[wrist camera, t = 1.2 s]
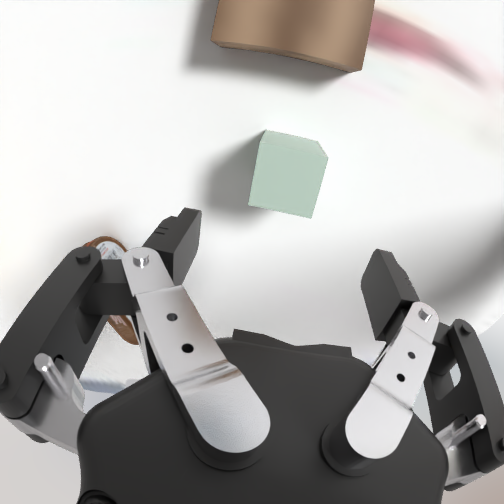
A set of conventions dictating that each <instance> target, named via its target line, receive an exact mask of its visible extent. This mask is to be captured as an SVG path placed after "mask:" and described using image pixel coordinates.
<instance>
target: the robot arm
mask: <svg viewBox="0 0 504 504" xmlns="http://www.w3.org/2000/svg"><path fill="white" fill-rule="evenodd" d="M201 215H202V213H201V210H196V209H190V208H184V209H183V210H182V211H181V213H180V214H179V215H178V217H174V216H170V217H168V218H166V219H164V220H163V221H162V222H161V223H160V224H159V226H158V228H156V229H155V231H154V233H152V234H151V236H150V237H149V238H148V239H147V241H146V242H145V243H144V245H143V246H142V247H137V248H133V249H130V250H128V251H127V252H125V253H124V255H123V256H122V259H102V258H101V252H100V251H99V250H98V249H97V248H95V247H91V246H83V247H79V248H76V249H74V250H72V251H71V252H70V253H69V254H68V255H67V256H66V257H65V258H64V259H63V260H62V262H61V263H60V264H59V265H58V266H57V268H56V269H55V270H54V271H53V272H52V273H51V275H50V276H49V277H48V278H47V280H46V281H45V282H44V283H43V285H42V286H41V287H40V288H39V290H38V291H37V292H36V293H35V295H34V296H33V297H32V299H31V300H30V301H29V303H28V304H27V305H26V307H25V308H24V309H23V311H22V312H21V314H20V315H19V316H18V318H17V319H16V321H15V322H14V324H13V325H12V327H11V328H10V329H9V331H8V332H7V334H6V336H5V337H4V339H3V340H2V342H1V343H0V413H1V414H2V415H3V416H4V417H5V418H6V419H7V420H8V421H9V422H11V423H12V424H13V425H14V426H15V427H16V428H18V429H19V430H20V431H21V432H23V433H25V434H26V435H27V436H29V437H30V438H31V439H32V440H34V441H36V442H39V443H45V442H51V443H53V444H56V445H58V446H59V447H62V448H64V449H66V450H68V451H70V452H73V453H75V454H77V455H78V456H79V461H80V468H81V489H80V495H79V498H78V501H77V504H441V500H442V495H443V491H444V490H446V491H453V490H456V489H458V488H460V487H462V486H464V485H466V484H468V483H470V482H472V481H474V480H476V479H478V478H480V477H482V476H484V475H486V474H488V473H489V472H491V471H493V470H495V469H496V468H498V467H500V466H501V465H503V464H504V405H503V402H502V398H501V395H500V392H499V390H498V386H497V384H496V381H495V378H494V375H493V373H492V370H491V368H490V365H489V362H488V360H487V357H486V355H485V353H484V350H483V348H482V346H481V343H480V341H479V339H478V337H477V335H476V332H475V330H474V329H473V327H472V326H471V325H470V324H469V323H467V322H466V321H464V320H462V319H456V320H455V321H454V322H453V323H452V325H451V326H447V325H445V324H443V323H440V322H439V317H438V314H437V313H436V311H435V310H434V309H433V308H432V307H431V306H429V305H428V304H426V303H423V302H420V300H419V298H418V296H417V294H416V292H415V290H414V288H413V286H412V284H411V282H410V280H409V278H408V276H407V274H406V272H405V271H404V270H403V269H402V268H401V267H400V265H399V264H398V263H397V261H396V260H395V258H394V256H393V254H392V253H391V252H388V251H384V250H380V249H376V250H375V251H374V252H373V254H372V257H371V259H370V261H369V263H368V266H367V268H366V270H365V272H364V274H363V277H362V280H361V290H362V293H363V296H364V300H365V303H366V307H367V310H368V314H369V318H370V321H371V325H372V329H373V333H374V336H375V340H377V341H386V345H385V346H384V347H383V349H382V350H381V352H380V353H379V355H378V357H377V358H376V360H375V361H374V363H373V364H372V366H369V365H368V364H366V363H365V362H363V361H361V360H359V359H357V358H355V357H352V352H351V347H343V346H335V345H327V344H319V345H305V346H294V345H291V344H288V343H285V342H283V341H280V340H277V339H275V338H272V337H269V336H267V335H264V334H259V333H254V332H248V331H243V330H238V329H234V332H233V336H232V337H228V338H218V339H214V338H213V337H212V335H211V333H210V332H209V330H208V328H207V327H206V325H205V323H204V322H203V320H202V318H201V316H200V315H199V313H198V311H197V310H196V308H195V306H194V304H193V303H192V301H191V299H190V297H189V296H188V294H187V292H186V290H185V289H184V287H183V286H182V283H183V281H184V279H185V277H186V274H187V272H188V270H189V268H190V266H191V264H192V262H193V260H194V258H195V255H196V253H197V250H198V245H199V236H200V226H201ZM110 315H128V316H130V320H131V323H132V326H133V329H134V331H135V334H136V337H137V340H138V343H139V346H140V348H141V351H142V354H143V357H144V361H145V364H146V368H147V371H148V373H149V375H148V376H146V377H144V378H143V379H141V380H139V381H138V382H136V383H134V384H132V385H131V386H129V387H127V388H125V389H124V390H122V391H120V392H118V393H116V394H115V395H113V396H111V397H109V398H107V399H106V400H104V401H102V402H100V403H99V404H97V405H95V406H94V407H93V408H92V409H91V410H89V411H88V413H87V414H85V413H83V403H84V397H85V394H84V390H83V388H82V386H81V384H80V382H79V378H80V375H81V373H82V371H83V369H84V367H85V364H86V362H87V360H88V358H89V356H90V354H91V352H92V350H93V348H94V345H95V343H96V341H97V339H98V337H99V335H100V333H101V331H102V330H103V328H104V326H105V324H106V322H107V320H108V318H109V316H110ZM456 363H458V366H459V369H460V372H461V378H460V381H459V383H458V385H457V386H455V387H454V385H453V382H452V378H451V375H450V369H451V368H452V367H453V366H454V365H455V364H456ZM422 383H424V387H425V391H426V396H427V400H428V406H429V410H430V416H431V421H432V427H433V433H432V432H431V431H430V430H429V429H428V428H427V426H426V425H425V424H424V423H423V422H422V421H421V420H420V419H419V418H418V416H417V415H416V414H415V413H414V412H413V410H412V407H413V405H414V403H415V400H416V398H417V395H418V393H419V391H420V388H421V386H422Z"/></svg>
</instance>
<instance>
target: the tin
mask: <svg viewBox="0 0 504 504" xmlns="http://www.w3.org/2000/svg"><path fill="white" fill-rule="evenodd" d="M83 246H91V247H95V248H97V249H98V250H99V251H100V252H101V258H102V259H122V256H123V255H124V253H125V252H127V250H126V249H125V248H124V246H123V245H122V244H121V243H120V242H118V241H117V240H116V239H114V238H111V237H107V236H103V237H99V238H96V239H94V240H93V241H91V242H88V243H86V244H84V245H83ZM83 246H82V247H83ZM107 321H108V322H109V323H110V325H111V326H112V327H113V328H114V329H115V331H116V332H117V333H118V334H119V335H120V336H121V337H122V338H123V339H124V340H125V341H127V342H128V343H130V344H134V345H139V343H138V340H137V337H136V334H135V331H134V329H133V326H132V323H131V320H130V316H128V315H110V316H109V318H108V320H107Z"/></svg>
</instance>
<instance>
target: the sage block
mask: <svg viewBox="0 0 504 504" xmlns="http://www.w3.org/2000/svg"><path fill="white" fill-rule="evenodd" d="M327 161H328V157H327V155H326V153H325V152H324V150H323V149H322V147H321V145H320V144H319V142H318V141H314V140H310V139H306V138H302V137H298V136H294V135H289V134H284V133H280V132H275V131H270V130H265V132H264V135H263V137H262V139H261V141H260V144H259V149H258V154H257V160H256V165H255V170H254V175H253V181H252V186H251V191H250V197H249V202H248V205H250V206H255V207H260V208H265V209H269V210H274V211H279V212H283V213H288V214H293V215H297V216H302V217H306V218H310V219H311V218H312V214H313V211H314V208H315V204H316V201H317V197H318V194H319V190H320V187H321V183H322V179H323V176H324V172H325V169H326V165H327Z"/></svg>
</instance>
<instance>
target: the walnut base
mask: <svg viewBox="0 0 504 504" xmlns="http://www.w3.org/2000/svg"><path fill="white" fill-rule="evenodd" d="M374 3H375V0H219V3H218V7H217V12H216V16H215V21H214V26H213V31H212V36H211V41H212V42H214V43H215V44H217V45H219V46H220V47H225V48H235V49H244V50H251V51H258V52H265V53H271V54H276V55H282V56H287V57H292V58H297V59H301V60H306V61H310V62H314V63H318V64H322V65H326V66H329V67H333V68H336V69H340V70H343V71H346V72H350V73H352V72H356V71H360V70H362V66H363V61H364V56H365V51H366V46H367V41H368V36H369V31H370V26H371V20H372V14H373V9H374Z"/></svg>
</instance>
